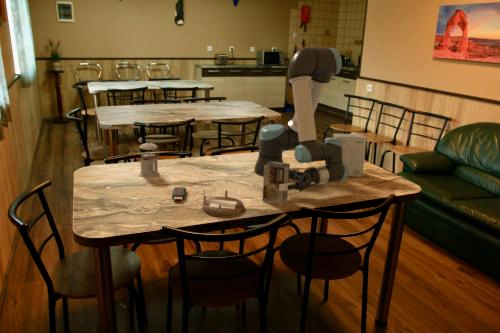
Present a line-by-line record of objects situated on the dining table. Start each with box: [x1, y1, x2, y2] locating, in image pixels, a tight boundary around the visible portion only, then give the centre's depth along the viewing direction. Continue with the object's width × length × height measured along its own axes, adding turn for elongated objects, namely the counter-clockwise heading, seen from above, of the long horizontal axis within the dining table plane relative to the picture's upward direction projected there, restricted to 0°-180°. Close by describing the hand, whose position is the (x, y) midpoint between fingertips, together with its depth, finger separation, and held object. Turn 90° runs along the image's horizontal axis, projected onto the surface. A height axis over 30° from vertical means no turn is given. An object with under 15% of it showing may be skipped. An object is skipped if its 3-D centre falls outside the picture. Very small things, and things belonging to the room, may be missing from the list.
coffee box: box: [262, 161, 290, 206], centre depth 167 cm, size 9×6×16 cm
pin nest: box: [202, 189, 244, 218], centre depth 159 cm, size 16×16×4 cm
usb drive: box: [171, 186, 187, 203], centre depth 169 cm, size 5×12×3 cm, turn 5°
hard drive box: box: [332, 133, 368, 178], centre depth 202 cm, size 16×8×20 cm, turn 84°
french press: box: [138, 122, 161, 179], centre depth 190 cm, size 10×12×25 cm
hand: (271, 181), depth 165 cm, fingers open, 13 cm apart
